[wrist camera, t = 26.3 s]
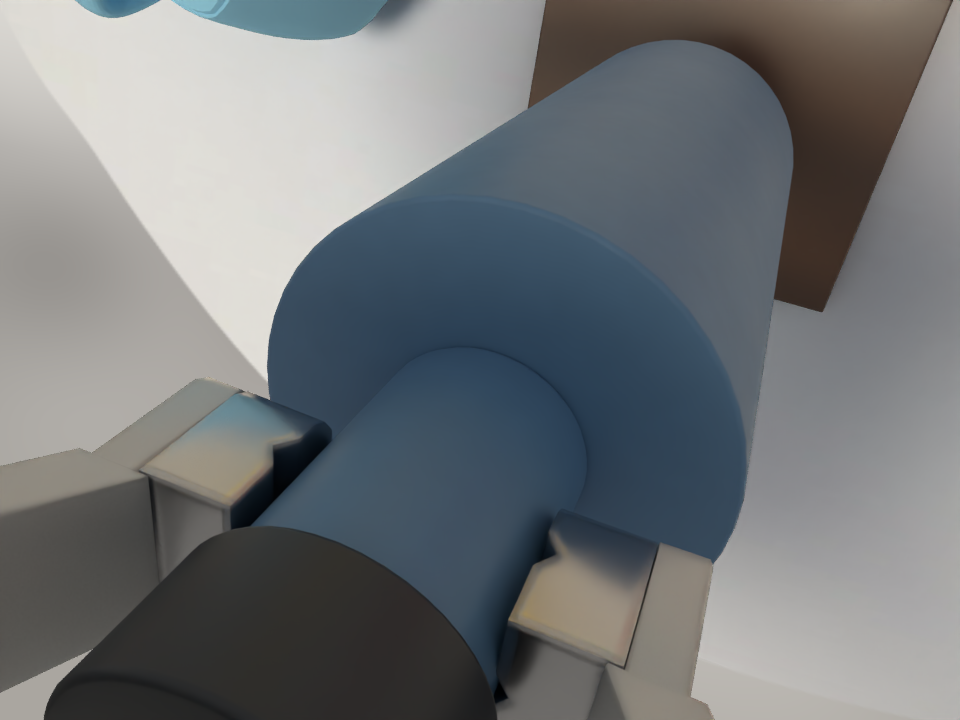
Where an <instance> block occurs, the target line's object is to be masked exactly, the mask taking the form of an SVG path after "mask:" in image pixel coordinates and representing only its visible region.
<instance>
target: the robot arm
mask: <svg viewBox="0 0 960 720" xmlns="http://www.w3.org/2000/svg"><path fill="white" fill-rule="evenodd" d="M331 441H332V429H331V428H330V427H329V426H328V425H327V424H326V422H324V421H322V420H319V419H317V418H314V417H312V416H309V415H306V414H304V413H301V412H299V411H296V410H294V409H291V408H289V407H286V406H284V405H281V404H278V403H276V402H273V401H271V400H268V399H266V398H263V397H260V396H258V395H255V394H253V393H250V392H245V391H243V390H240V389H238V388H235V387H233V386H230V385H228V384H225V383H222V382H220V381H217V380H215V379H212V378H210V377H209V378H201V379H195V380H194V381H192V382H191V383H189V384H188V385H186V386H185V387H184V388H182V389H181V390H179V391H178V392H177V393H175V394H174V395H172V396H171V397H170V398H168V399H167V400H165V401H164V402H163V403H161V404H160V405H158V406H157V407H156V408H154V409H153V410H151V411H150V412H149V413H147V414H146V415H144V416H143V417H142V418H140V419H139V420H137V421H136V422H135V423H133V424H132V425H130V426H129V427H128V428H126V429H125V430H123V431H122V432H120V433H119V434H118V435H116V436H115V437H113V438H112V439H111V440H109V441H108V442H106V443H105V444H104V445H102V446H101V447H99V448H98V449H97V450H95V451H94V452H92V453H90V452H88V451H85V450H83V449H80V448H78V449H74V450H70V451H65V452H60V453H56V454H51V455H47V456H43V457H38V458H34V459H29V460H25V461H20V462H16V463H12V464H8V465H3V466H0V693H1V692H3V691H5V690H7V689H9V688H11V687H13V686H15V685H17V684H20V683H21V682H24V681H26V680H28V679H30V678H32V677H34V676H37V675H38V674H40V673H43V672H45V671H47V670H49V669H51V668H53V667H56V666H58V665H60V664H62V663H64V662H66V661H68V660H70V659H72V658H75V657H77V656H78V655H81V654H83V653H85V652H87V651H89V650H91V649H94V648H95V647H96V646H97V645H98V644H99V643H100V642H101V641H102V640H103V639H104V638H105V637H106V636H107V635H108V634H109V633H110V632H111V631H112V630H113V629H114V628H115V627H116V626H117V625H118V624H119V623H120V622H121V621H122V620H123V619H124V618H125V617H126V616H127V615H128V614H129V613H130V612H131V611H132V610H133V609H134V608H135V607H136V606H137V605H138V604H139V603H140V602H141V601H142V600H143V599H144V598H145V597H146V596H147V595H148V594H149V593H150V592H151V591H152V590H153V589H154V588H155V587H156V586H157V585H158V584H159V583H160V582H161V581H163V580H164V579H165V578H166V577H167V576H168V575H169V574H170V573H171V572H172V571H173V570H174V569H175V568H176V567H177V566H178V565H179V564H180V563H181V562H182V561H183V560H184V559H185V558H186V557H187V556H188V555H189V554H190V553H191V552H192V551H193V550H194V549H195V548H196V547H197V546H198V545H199V544H201V543H203V542H204V541H206V540H208V539H209V538H211V537H213V536H215V535H218V534H221V533H224V532H227V531H230V530H233V529H237V528H243V527H249V526H251V525H252V524H253V523H254V522H255V521H256V520H257V519H258V517H259V516H260V515H261V514H262V513H263V512H264V511H265V510H266V509H267V508H268V507H269V506H270V505H271V504H272V503H273V502H274V501H275V500H276V499H277V498H278V497H279V496H280V495H281V493H282V492H283V491H284V490H285V489H286V488H287V487H288V486H289V485H290V484H291V483H292V482H293V481H294V480H295V479H296V478H297V477H298V476H299V475H300V474H301V473H302V472H303V471H304V469H305V468H306V467H307V466H308V465H309V464H310V463H311V462H312V461H313V460H314V459H315V458H316V457H317V456H318V455H319V454H320V453H321V452H322V451H323V450H324V449H325V448H326V446H327V445H328V444H329V443H330V442H331ZM712 572H713V565H712V562H711V559H708V558H705V557H702V556H699V555H696V554H693V553H691V552H688V551H685V550H682V549H679V548H676V547H673V546H670V545H667V544H664V543H661V542H660V543H659V545H658V542H655V541H652V540H650V539H647V538H644V537H641V536H638V535H636V534H633V533H630V532H627V531H624V530H622V529H619V528H616V527H613V526H610V525H608V524H605V523H602V522H599V521H596V520H594V519H591V518H588V517H585V516H582V515H580V514H577V513H574V512H571V511H568V510H566V509H563V508H562V509H560V510H559V511H558V513H557V515H556V517H555V519H554V521H553V523H552V525H551V527H550V529H549V532H548V536H547V539H546V543H545V547H544V551H543V554H542V558H541V562H539V563H536V564H534V565H533V566H532V569H531V571H530V573H529V575H528V577H527V580H526V582H525V584H524V586H523V588H522V591H521V593H520V595H519V597H518V600H517V602H516V604H515V606H514V608H513V611H512V613H511V615H510V617H509V620H508V623H507V627H506V632H505V636H504V640H503V644H502V648H501V652H500V656H499V660H498V664H497V668H496V675H497V677H498V679H499V681H500V682H499V684H498V686H497V688H496V691H495V693H494V695H493V697H494V701H495V706H496V710H497V720H714V717H713V715H712V713H711V711H710V709H709V707H708V705H707V704H705V703H703V702H701V701H698V700H696V699H694V698H691V697H690V696H691V691H692V685H693V679H694V674H695V668H696V662H697V657H698V651H699V645H700V640H701V634H702V628H703V623H704V617H705V611H706V606H707V600H708V595H709V589H710V583H711V578H712Z"/></svg>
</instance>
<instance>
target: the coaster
mask: <svg viewBox="0 0 960 720" xmlns="http://www.w3.org/2000/svg"><path fill="white" fill-rule="evenodd" d="M952 1H953V0H546V3H545V9H544V15H543V21H542V27H541V33H540V39H539V45H538V51H537V57H536V63H535V68H534V74H533V80H532V86H531V92H530V98H529V104H528V109H529V108H530V107H532V106H533V105H535V104H537V103H538V102H540V101H541V100H543V99H545V98H546V97H548V96H549V95H551V94H553V93H554V92H556V91H557V90H559V89H561V88H562V87H564V86H565V85H567V84H569V83H570V82H572V81H574V80H575V79H577V78H578V77H580V76H582V75H583V74H585V73H586V72H588V71H590V70H591V69H593V68H594V67H596V66H598V65H599V64H601V63H602V62H604V61H606V60H607V59H609V58H611V57H612V56H614V55H616V54H617V53H620V52H622V51H624V50H627V49H629V48H631V47H634V46H638V45H641V44H645V43H648V42H655V41H662V40H686V41H693V42H700V43H703V44H707V45H710V46H714V47H717V48H719V49H721V50H724V51H726V52H728V53H730V54H732V55H734V56H735V57H737V58H739V59H740V60H742V61H743V62H745V63H746V64H747V65H749V66H750V67H751V68H752V69H753V70H755V71H756V72H757V73H758V74H759V75H760V76H761V77H762V78H763V80H764V81H765V82H766V83H767V84H768V85H769V86H770V88H771V89H772V91H773V92H774V94H775V95H776V97H777V99H778V100H779V102H780V104H781V106H782V108H783V111H784V113H785V115H786V118H787V121H788V124H789V128H790V131H791V137H792V144H793V171H792V178H791V185H790V192H789V199H788V206H787V212H786V219H785V226H784V232H783V239H782V246H781V253H780V259H779V266H778V273H777V280H776V286H775V293H774V299H776V300H780V301H783V302H787V303H790V304H794V305H797V306H801V307H805V308H808V309H812V310H815V311H819V312H823V311H824V308H825V306H826V303H827V301H828V299H829V296H830V294H831V291H832V289H833V287H834V284H835V282H836V279H837V277H838V275H839V272H840V270H841V267H842V265H843V263H844V260H845V258H846V255H847V253H848V251H849V248H850V246H851V243H852V241H853V239H854V236H855V234H856V231H857V229H858V227H859V224H860V222H861V219H862V217H863V215H864V212H865V210H866V207H867V205H868V203H869V200H870V198H871V195H872V193H873V191H874V188H875V186H876V184H877V181H878V179H879V176H880V174H881V172H882V169H883V167H884V164H885V162H886V160H887V157H888V155H889V152H890V150H891V148H892V145H893V143H894V140H895V138H896V136H897V133H898V131H899V128H900V126H901V124H902V121H903V119H904V116H905V114H906V112H907V109H908V107H909V104H910V102H911V100H912V97H913V95H914V92H915V90H916V88H917V85H918V83H919V80H920V78H921V76H922V73H923V71H924V68H925V66H926V64H927V61H928V59H929V56H930V54H931V52H932V49H933V47H934V44H935V42H936V40H937V37H938V35H939V32H940V30H941V28H942V25H943V23H944V20H945V18H946V16H947V13H948V11H949V8H950V6H951V4H952Z"/></svg>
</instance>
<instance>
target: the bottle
mask: <svg viewBox="0 0 960 720" xmlns="http://www.w3.org/2000/svg"><path fill="white" fill-rule="evenodd" d="M792 171H793V144H792V137H791V131H790V128H789V124H788V121H787V118H786V115H785V113H784V111H783V108H782V106H781V104H780V102H779V100H778V99H777V97H776V95H775V94H774V92H773V91H772V89H771V88H770V86H769V85H768V84H767V83H766V82H765V81H764V80H763V78H762V77H761V76H760V75H759V74H758V73H757V72H756V71H755V70H753V69H752V68H751V67H750V66H749V65H747V64H746V63H745V62H743V61H742V60H740V59H739V58H737V57H735V56H734V55H732V54H730V53H728V52H726V51H724V50H721V49H719V48H717V47H714V46H710V45H707V44H703V43H700V42H693V41H686V40H662V41H655V42H648V43H645V44H641V45H638V46H634V47H631V48H629V49H627V50H624V51H622V52H620V53H617V54H616V55H614V56H612V57H611V58H609V59H607V60H606V61H604V62H602V63H601V64H599V65H598V66H596V67H594V68H593V69H591V70H590V71H588V72H586V73H585V74H583V75H582V76H580V77H578V78H577V79H575V80H574V81H572V82H570V83H569V84H567V85H565V86H564V87H562V88H561V89H559V90H557V91H556V92H554V93H553V94H551V95H549V96H548V97H546V98H545V99H543V100H541V101H540V102H538V103H537V104H535V105H533V106H532V107H530V108H529V109H527V110H525V111H524V112H522V113H521V114H519V115H517V116H516V117H514V118H512V119H511V120H509V121H508V122H506V123H504V124H503V125H501V126H500V127H498V128H496V129H495V130H493V131H492V132H490V133H488V134H487V135H485V136H484V137H482V138H480V139H479V140H477V141H476V142H474V143H472V144H471V145H469V146H468V147H466V148H464V149H463V150H461V151H459V152H458V153H456V154H455V155H453V156H451V157H450V158H448V159H447V160H445V161H443V162H442V163H440V164H439V165H437V166H435V167H434V168H432V169H431V170H429V171H427V172H426V173H424V174H423V175H421V176H419V177H418V178H416V179H415V180H413V181H411V182H410V183H408V184H406V185H405V186H403V187H402V188H400V189H398V190H397V191H395V192H394V193H392V194H390V195H389V196H387V197H386V198H384V199H382V200H381V201H379V202H378V203H376V204H374V205H373V206H371V207H370V208H368V209H366V210H365V211H363V212H361V213H360V214H358V215H357V216H355V217H353V218H352V219H350V220H349V221H347V222H345V223H344V224H342V225H341V226H339V227H337V228H336V229H334V230H333V231H332V232H331V233H330V234H329V235H327V236H326V237H325V238H324V239H323V240H322V241H320V242H319V243H318V244H317V245H316V246H315V247H314V248H313V249H312V250H311V251H310V253H309V254H308V255H307V256H306V257H305V259H304V260H303V261H302V262H301V263H300V265H299V266H298V267H297V269H296V270H295V272H294V274H293V275H292V277H291V279H290V281H289V282H288V284H287V286H286V287H285V289H284V291H283V294H282V297H281V299H280V302H279V305H278V307H277V310H276V312H275V315H274V319H273V324H272V328H271V333H270V338H269V346H268V361H267V371H268V386H269V394H270V400H271V401H273V402H276V403H278V404H281V405H284V406H286V407H289V408H291V409H294V410H296V411H299V412H301V413H304V414H306V415H309V416H312V417H314V418H317V419H319V420H322V421H324V422H326V424H327V425H328V426H329V427H330V428H331V429H332V441H331V442H330V443H329V444H328V445H327V446H326V448H325V449H324V450H323V451H322V452H321V453H320V454H319V455H318V456H317V457H316V458H315V459H314V460H313V461H312V462H311V463H310V464H309V465H308V466H307V467H306V468H305V469H304V471H303V472H302V473H301V474H300V475H299V476H298V477H297V478H296V479H295V480H294V481H293V482H292V483H291V484H290V485H289V486H288V487H287V488H286V489H285V490H284V491H283V492H282V493H281V495H280V496H279V497H278V498H277V499H276V500H275V501H274V502H273V503H272V504H271V505H270V506H269V507H268V508H267V509H266V510H265V511H264V512H263V513H262V514H261V515H260V516H259V517H258V519H257V520H256V521H255V522H254V523H253V524H252V525H251V526H249V527H243V528H237V529H233V530H230V531H227V532H224V533H221V534H218V535H215V536H213V537H211V538H209V539H208V540H206V541H204V542H203V543H201V544H199V545H198V546H197V547H196V548H195V549H194V550H193V551H192V552H191V553H190V554H189V555H188V556H187V557H186V558H185V559H184V560H183V561H182V562H181V563H180V564H179V565H178V566H177V567H176V568H175V569H174V570H173V571H172V572H171V573H170V574H169V575H168V576H167V577H166V578H165V579H164V580H163V581H161V582H160V583H159V584H158V585H157V586H156V587H155V588H154V589H153V590H152V591H151V592H150V593H149V594H148V595H147V596H146V597H145V598H144V599H143V600H142V601H141V602H140V603H139V604H138V605H137V606H136V607H135V608H134V609H133V610H132V611H131V612H130V613H129V614H128V615H127V616H126V617H125V618H124V619H123V620H122V621H121V622H120V623H119V624H118V625H117V626H116V627H115V628H114V629H113V630H112V631H111V632H110V633H109V634H108V635H107V636H106V637H105V638H104V639H103V640H102V641H101V642H100V643H99V644H98V645H97V646H96V647H95V648H94V649H93V650H92V651H91V652H90V653H89V654H88V655H87V656H86V657H85V658H84V659H83V660H82V661H81V662H80V663H79V664H78V665H77V666H76V667H75V668H73V669H72V670H71V671H70V673H69V674H67V675H66V676H65V678H63V680H61V681H60V682H59V683H58V684H57V686H56V688H55V689H54V691H53V693H52V695H51V696H50V699H49V701H48V703H47V706H46V711H45V715H44V720H497V710H496V706H495V701H494V697H493V695H494V693H495V691H496V688H497V686H498V684H499V682H500V681H499V679H498V677H497V675H496V668H497V664H498V660H499V656H500V652H501V648H502V644H503V640H504V636H505V632H506V627H507V623H508V620H509V617H510V615H511V613H512V611H513V608H514V606H515V604H516V602H517V600H518V597H519V595H520V593H521V591H522V588H523V586H524V584H525V582H526V580H527V577H528V575H529V573H530V571H531V569H532V566H533V565H534V564H536V563H539V562H541V558H542V554H543V551H544V547H545V543H546V539H547V536H548V532H549V529H550V527H551V525H552V523H553V521H554V519H555V517H556V515H557V513H558V511H559V510H560V509H562V508H563V509H566V510H568V511H571V512H574V513H577V514H580V515H582V516H585V517H588V518H591V519H594V520H596V521H599V522H602V523H605V524H608V525H610V526H613V527H616V528H619V529H622V530H624V531H627V532H630V533H633V534H636V535H638V536H641V537H644V538H647V539H650V540H652V541H655V542H658V545H659V543H660V542H661V543H664V544H667V545H670V546H673V547H676V548H679V549H682V550H685V551H688V552H691V553H693V554H696V555H699V556H702V557H705V558H708V559H711V562H712V565H713V564H714V562H715V561H716V560H717V558H718V557H719V556H720V555H721V553H722V552H723V550H724V548H725V546H726V544H727V542H728V540H729V538H730V536H731V535H732V533H733V531H734V529H735V526H736V523H737V520H738V517H739V514H740V511H741V507H742V504H743V501H744V495H745V488H746V481H747V475H748V468H749V461H750V454H751V448H752V441H753V434H754V428H755V421H756V414H757V407H758V401H759V394H760V387H761V380H762V374H763V367H764V360H765V354H766V347H767V340H768V333H769V327H770V320H771V313H772V306H773V300H774V293H775V286H776V280H777V273H778V266H779V259H780V253H781V246H782V239H783V232H784V226H785V219H786V212H787V206H788V199H789V192H790V185H791V178H792Z"/></svg>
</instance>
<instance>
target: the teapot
mask: <svg viewBox="0 0 960 720" xmlns="http://www.w3.org/2000/svg"><path fill="white" fill-rule="evenodd" d="M76 1H77V2H78V3H79V4H80V5H81V6H83V7H84V8H85V9H87V10H89V11H91V12H93V13H95V14H97V15H99V16H102V17H107V18H118V17H124V16H127V15H130V14H133V13H136V12H138V11H140V10H143V9H145V8H147V7H149V6H151V5H153V4H155V3H156V2H158V1H160V0H76ZM172 1H173V2H175V3H176V4H178V5H179V6H181V7H182V8H184V9H185V10H187V11H190V12H192V13H194V14H196V15H198V16H200V17H203V18H206V19H209V20H212V21H215V22H218V23H221V24H225V25H229V26H232V27H236V28H240V29H244V30H248V31H252V32H256V33H260V34H265V35H270V36H275V37H282V38H291V39H301V40H323V39H335V38H340V37H345V36H348V35H352V34H355V33H356V32H358V31H359V30H361V29H362V28H363V27H364V26H366V25H367V24H368V23H369V22H370V21H372V20H373V18H374V17H375V16H376V15H377V13H378V12H379V11H380V10H381V8H382V7H383V6H384V5H385V3H386V2H387V1H388V0H172Z"/></svg>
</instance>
